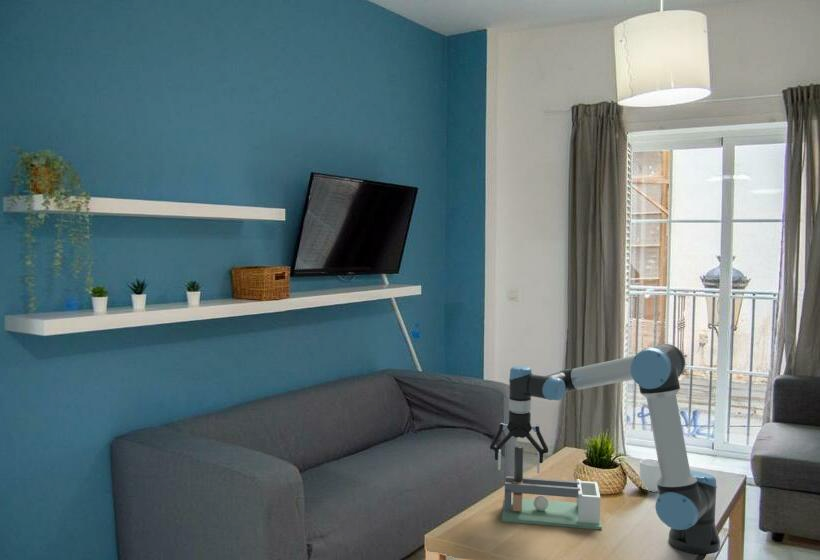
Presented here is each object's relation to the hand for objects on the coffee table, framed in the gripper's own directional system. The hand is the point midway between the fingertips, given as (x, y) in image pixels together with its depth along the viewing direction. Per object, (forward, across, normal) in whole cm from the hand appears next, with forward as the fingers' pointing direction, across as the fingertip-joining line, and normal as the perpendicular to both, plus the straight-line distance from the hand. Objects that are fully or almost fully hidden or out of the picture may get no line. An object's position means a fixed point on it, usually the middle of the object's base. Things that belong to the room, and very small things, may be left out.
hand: (518, 470), depth 250 cm
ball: (+11, -8, 0) cm, 14 cm away
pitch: (+15, -11, 0) cm, 18 cm away
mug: (+15, -51, -35) cm, 64 cm away
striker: (+13, 0, 0) cm, 13 cm away
